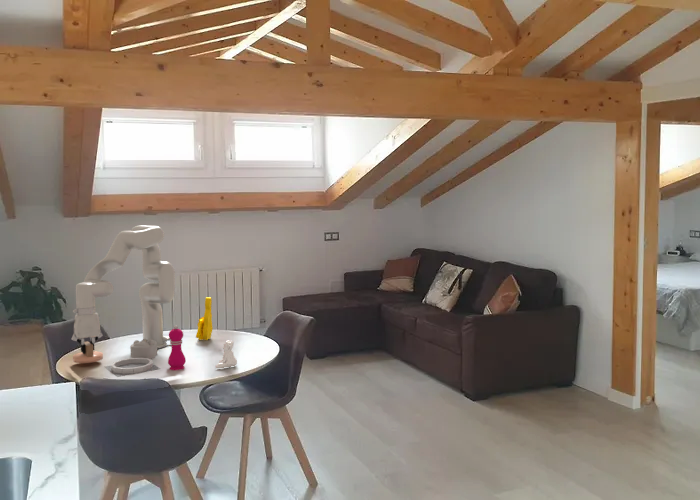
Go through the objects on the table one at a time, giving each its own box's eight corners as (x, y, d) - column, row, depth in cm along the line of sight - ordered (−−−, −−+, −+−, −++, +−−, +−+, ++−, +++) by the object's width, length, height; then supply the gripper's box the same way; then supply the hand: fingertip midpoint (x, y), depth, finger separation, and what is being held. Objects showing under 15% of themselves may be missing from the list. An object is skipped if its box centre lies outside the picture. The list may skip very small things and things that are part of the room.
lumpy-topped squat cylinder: (128, 362, 279) (127, 343, 278) (140, 354, 292) (139, 336, 291) (150, 363, 278) (150, 344, 277) (161, 355, 291) (161, 337, 290)
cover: (106, 360, 271) (105, 344, 270) (77, 364, 263) (76, 348, 263) (98, 354, 280) (97, 339, 279) (69, 358, 273) (69, 342, 272)
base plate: (145, 362, 278) (145, 355, 278) (160, 372, 264) (160, 364, 264) (104, 370, 268) (104, 362, 267) (117, 380, 253) (117, 371, 253)
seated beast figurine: (220, 363, 277) (219, 337, 276) (239, 363, 277) (238, 337, 276) (214, 370, 268) (214, 342, 266) (234, 370, 267) (234, 342, 266)
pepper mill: (170, 369, 269) (168, 323, 267) (187, 368, 269) (185, 323, 267) (166, 374, 262) (165, 327, 260) (184, 373, 262) (182, 327, 260)
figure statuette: (202, 335, 329) (201, 294, 327) (217, 335, 329) (216, 294, 327) (192, 343, 312) (191, 300, 309) (207, 344, 311) (206, 300, 309)
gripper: (68, 314, 262) (70, 357, 264) (107, 310, 272) (109, 351, 273) (64, 311, 268) (65, 353, 269) (102, 307, 278) (104, 348, 279)
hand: (87, 352), depth 271 cm, fingers closed on cover, 2 cm apart
